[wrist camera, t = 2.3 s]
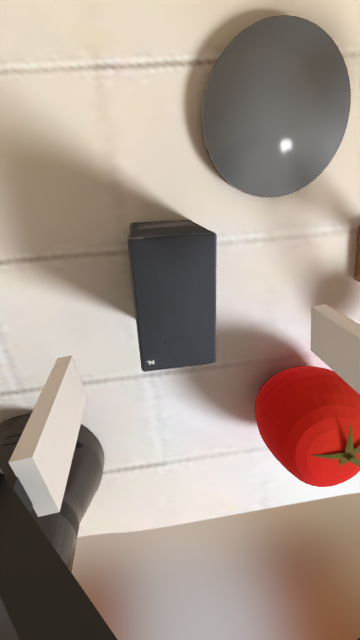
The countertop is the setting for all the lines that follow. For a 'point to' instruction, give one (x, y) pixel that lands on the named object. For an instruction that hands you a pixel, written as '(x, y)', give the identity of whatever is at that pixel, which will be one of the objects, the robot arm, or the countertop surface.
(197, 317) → the small box
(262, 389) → the tomato
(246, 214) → the countertop surface
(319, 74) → the dish
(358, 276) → the balance
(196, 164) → the countertop surface
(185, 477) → the countertop surface
